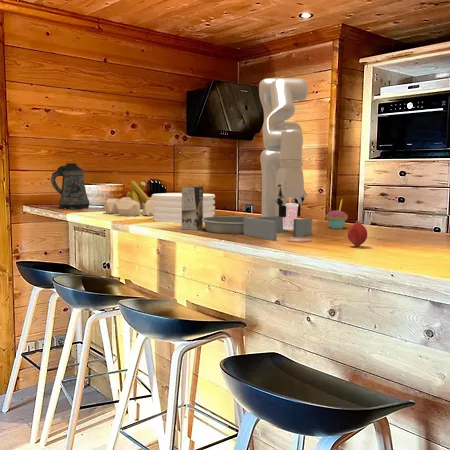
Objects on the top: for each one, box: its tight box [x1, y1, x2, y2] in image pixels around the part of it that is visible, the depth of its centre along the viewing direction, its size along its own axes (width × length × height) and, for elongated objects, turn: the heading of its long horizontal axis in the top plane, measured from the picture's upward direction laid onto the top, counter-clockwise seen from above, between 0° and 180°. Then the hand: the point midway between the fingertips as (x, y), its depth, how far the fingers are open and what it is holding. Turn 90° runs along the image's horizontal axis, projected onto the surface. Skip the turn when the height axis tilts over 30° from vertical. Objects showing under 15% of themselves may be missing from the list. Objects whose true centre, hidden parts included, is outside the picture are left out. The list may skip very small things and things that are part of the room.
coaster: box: [285, 236, 312, 243], centre depth 167 cm, size 8×8×1 cm
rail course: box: [243, 216, 313, 241], centre depth 179 cm, size 20×16×6 cm
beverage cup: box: [283, 198, 299, 231], centre depth 182 cm, size 6×6×14 cm
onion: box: [347, 219, 368, 248], centre depth 155 cm, size 6×6×8 cm
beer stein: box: [50, 162, 90, 210], centre depth 287 cm, size 16×19×25 cm
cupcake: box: [325, 197, 349, 230], centre depth 204 cm, size 9×8×12 cm
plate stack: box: [151, 192, 216, 224], centre depth 231 cm, size 28×28×12 cm
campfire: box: [102, 179, 154, 217], centre depth 260 cm, size 35×34×17 cm
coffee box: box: [181, 186, 204, 231], centre depth 197 cm, size 9×6×16 cm
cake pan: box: [202, 215, 250, 235], centre depth 194 cm, size 25×25×4 cm
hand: (289, 216), depth 183 cm, fingers closed on beverage cup, 6 cm apart
